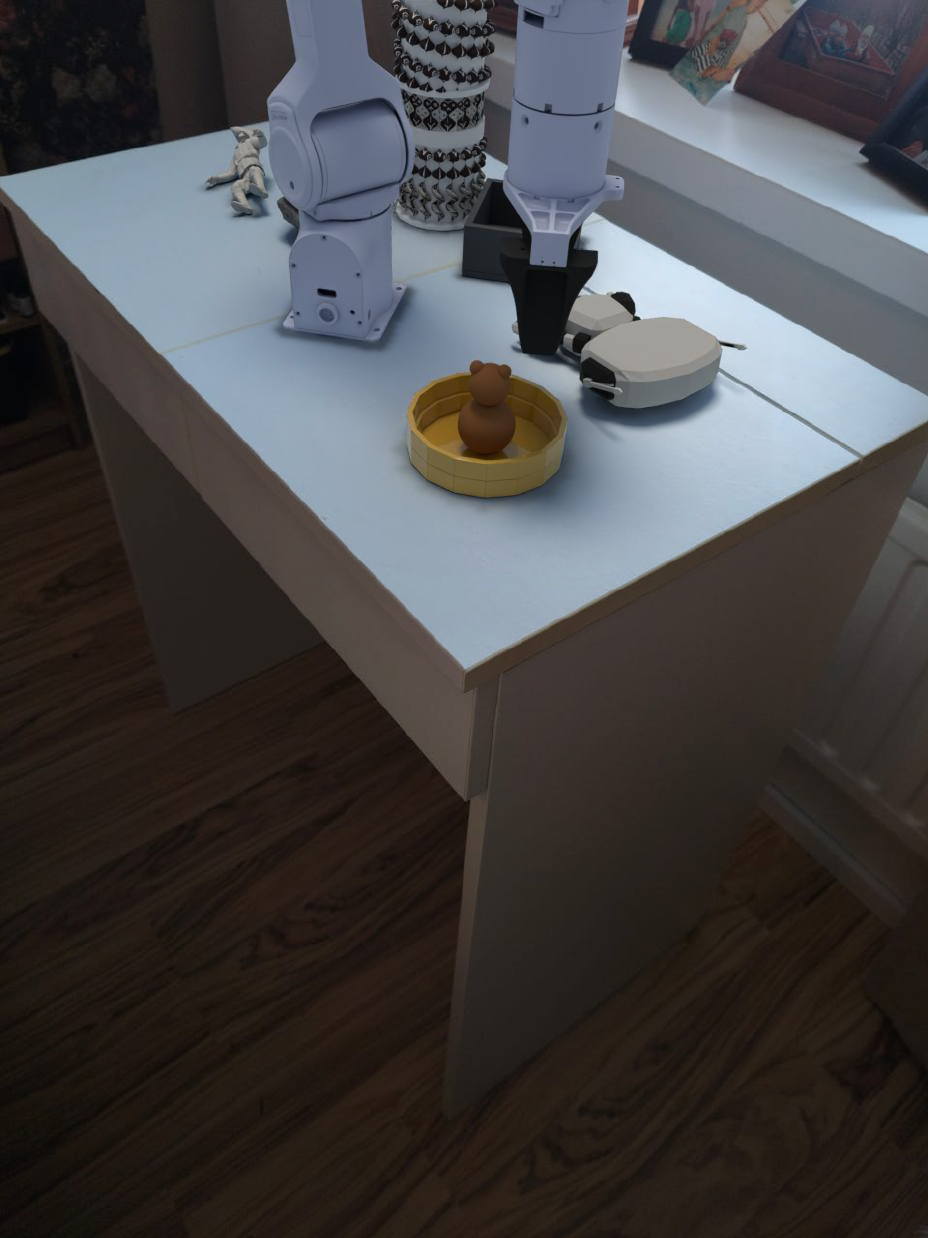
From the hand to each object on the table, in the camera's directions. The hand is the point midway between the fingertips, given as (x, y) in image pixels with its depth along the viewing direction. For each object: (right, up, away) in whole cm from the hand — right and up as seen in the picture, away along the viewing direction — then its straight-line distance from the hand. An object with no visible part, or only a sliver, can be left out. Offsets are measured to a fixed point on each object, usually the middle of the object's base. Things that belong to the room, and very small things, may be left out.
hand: (541, 321), depth 65 cm
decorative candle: (-7, +20, +33) cm, 39 cm away
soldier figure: (-26, +23, +34) cm, 49 cm away
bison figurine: (-17, +15, +27) cm, 35 cm away
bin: (0, +14, +26) cm, 30 cm away
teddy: (-4, -7, +5) cm, 10 cm away
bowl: (-4, -8, +6) cm, 10 cm away
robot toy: (+7, 0, +14) cm, 15 cm away
